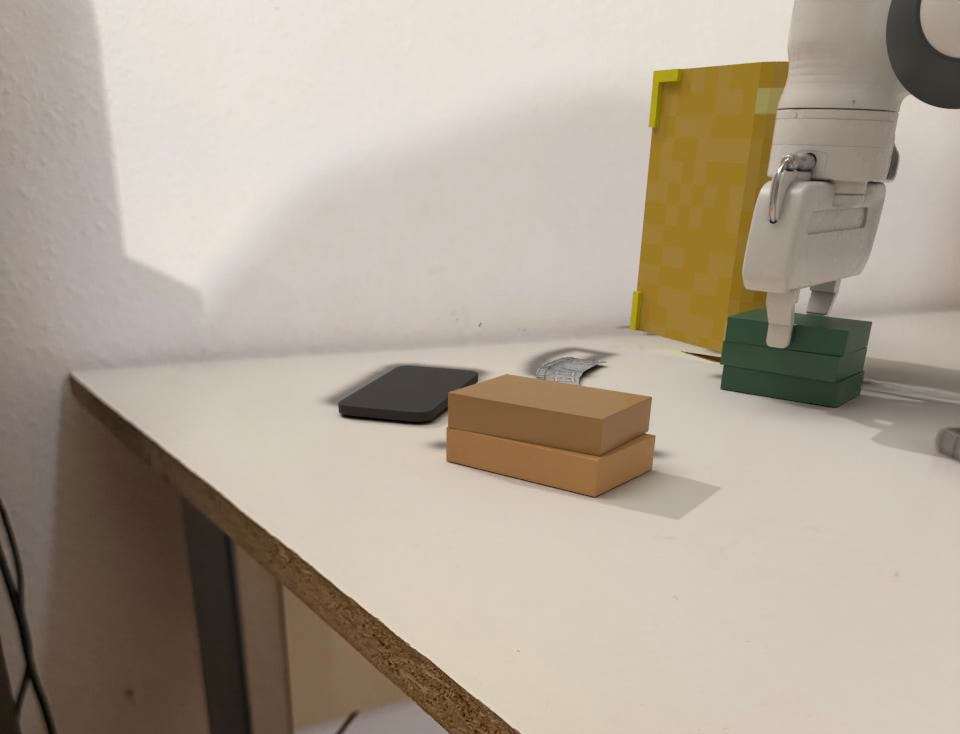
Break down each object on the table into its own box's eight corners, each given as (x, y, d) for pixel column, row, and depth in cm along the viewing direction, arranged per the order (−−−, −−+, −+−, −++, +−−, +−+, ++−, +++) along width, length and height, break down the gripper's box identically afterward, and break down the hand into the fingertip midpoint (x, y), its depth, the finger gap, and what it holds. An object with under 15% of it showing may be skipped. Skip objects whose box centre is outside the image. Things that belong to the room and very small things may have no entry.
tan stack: (655, 467, 61) (663, 398, 59) (594, 497, 55) (600, 422, 53) (510, 436, 66) (512, 372, 64) (441, 460, 61) (441, 390, 59)
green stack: (860, 394, 81) (870, 346, 79) (834, 408, 76) (844, 357, 74) (745, 376, 87) (752, 331, 85) (713, 389, 82) (720, 341, 80)
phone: (332, 404, 70) (399, 364, 82) (332, 415, 70) (399, 374, 83) (428, 413, 68) (482, 371, 81) (428, 425, 68) (482, 381, 81)
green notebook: (867, 346, 79) (872, 321, 78) (843, 357, 75) (848, 330, 74) (753, 331, 84) (756, 308, 84) (724, 341, 80) (727, 316, 79)
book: (628, 337, 103) (653, 70, 92) (678, 334, 106) (708, 75, 95) (732, 367, 90) (776, 59, 79) (785, 362, 93) (836, 64, 82)
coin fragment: (574, 389, 80) (575, 384, 80) (520, 382, 81) (520, 377, 81) (609, 363, 90) (609, 358, 90) (560, 357, 92) (561, 352, 92)
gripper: (825, 154, 64) (788, 363, 70) (906, 158, 79) (869, 331, 85) (737, 151, 67) (709, 351, 74) (830, 156, 82) (800, 322, 88)
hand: (796, 340), depth 79 cm, fingers closed on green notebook, 6 cm apart
